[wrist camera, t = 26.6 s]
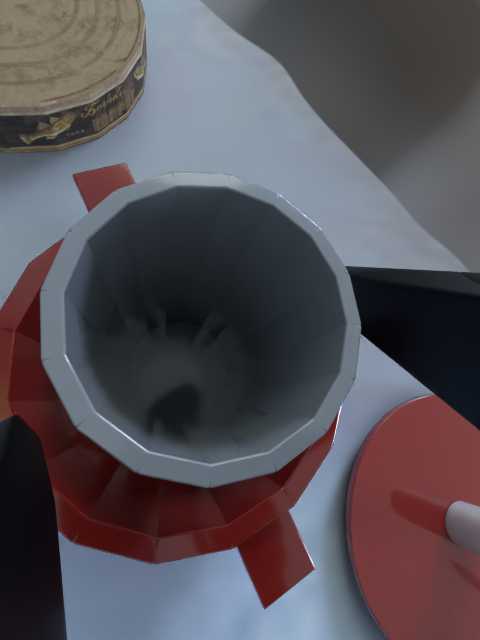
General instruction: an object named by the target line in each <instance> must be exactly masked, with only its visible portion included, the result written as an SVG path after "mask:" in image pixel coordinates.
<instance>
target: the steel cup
mask: <svg viewBox="0 0 480 640" xmlns="http://www.w3.org/2000/svg"><path fill="white" fill-rule="evenodd" d="M360 325H361V321H360V317H359V313H358V308H357V304H356V300H355V296H354V292H353V288H352V283H351V279H350V275H349V274H348V270H347V269H346V267H345V266H344V264H343V263H342V261H341V259H340V258H339V256H338V255H337V253H336V252H335V250H334V248H333V247H332V245H331V244H330V242H329V241H328V239H327V237H326V236H325V234H324V233H323V231H322V230H321V229H319V226H318V225H316V224H315V223H314V222H313V221H311V220H310V219H309V218H308V217H307V216H305V215H304V214H303V213H302V212H301V211H299V210H298V209H297V208H296V207H294V206H293V205H292V204H291V203H290V202H288V201H287V200H286V199H285V198H283V197H282V196H281V195H278V193H276V192H273V191H271V190H268V189H265V188H263V187H260V186H258V185H255V184H252V183H250V182H247V181H245V180H242V179H240V178H237V177H234V176H232V175H227V174H216V173H190V172H172V173H171V172H169V173H166V174H163V175H160V176H157V177H153V178H150V179H147V180H144V181H141V182H138V183H135V184H132V185H129V186H126V187H123V188H120V189H117V190H116V191H114V192H112V193H111V194H110V195H109V196H108V197H107V198H105V199H104V200H103V201H102V202H101V203H99V204H98V205H97V206H96V207H95V208H94V209H92V210H91V211H90V212H89V213H88V214H87V215H85V216H84V217H83V218H82V219H81V220H80V221H78V222H77V223H76V224H75V225H74V226H73V227H71V228H70V229H69V232H67V233H66V236H65V238H64V240H63V242H62V244H61V246H60V249H59V251H58V253H57V255H56V257H55V259H54V261H53V264H52V266H51V268H50V270H49V272H48V274H47V276H46V279H45V281H44V283H43V285H42V287H41V292H40V335H41V360H42V361H43V362H42V365H43V367H44V369H45V371H46V373H47V375H48V377H49V379H50V381H51V383H52V384H53V386H54V388H55V390H56V392H57V394H58V396H59V398H60V400H61V402H62V404H63V406H64V408H65V410H66V412H67V414H68V415H69V417H70V419H71V421H72V423H73V425H74V426H75V427H77V430H78V431H79V432H81V433H82V434H83V435H85V436H86V437H87V438H89V439H90V440H91V441H93V442H94V443H95V444H97V445H98V446H99V447H101V448H102V449H103V450H105V451H106V452H107V453H109V454H110V455H111V456H113V457H114V458H115V459H117V460H118V461H119V462H121V463H122V464H124V465H125V466H126V467H128V468H129V469H130V470H132V471H133V472H135V473H138V474H139V475H143V476H148V477H153V478H158V479H163V480H168V481H173V482H178V483H183V484H188V485H193V486H198V487H203V488H208V487H210V488H214V487H218V486H222V485H226V484H230V483H234V482H238V481H242V480H247V479H251V478H255V477H259V476H263V475H267V474H271V473H274V472H275V471H279V470H280V469H281V468H282V467H284V466H285V465H286V464H287V463H289V462H290V461H291V460H293V459H294V458H295V457H296V456H298V455H299V454H300V453H302V452H303V451H304V450H305V449H307V448H308V447H309V446H311V445H312V444H313V443H314V442H316V441H317V440H318V439H320V438H321V437H322V436H323V435H325V432H327V431H328V429H329V428H330V426H331V424H332V422H333V420H334V418H335V417H336V415H337V413H338V411H339V409H340V407H341V406H342V404H343V402H344V400H345V398H346V396H347V395H348V393H349V391H350V389H351V387H352V385H353V384H354V380H355V376H356V368H357V360H358V351H359V343H360V335H361V326H360Z"/></svg>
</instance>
